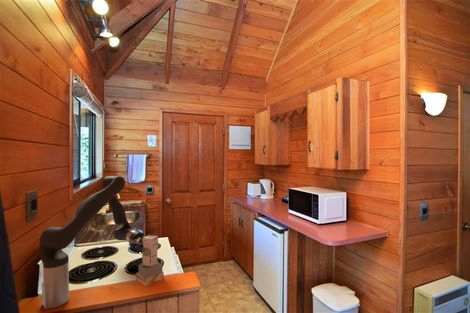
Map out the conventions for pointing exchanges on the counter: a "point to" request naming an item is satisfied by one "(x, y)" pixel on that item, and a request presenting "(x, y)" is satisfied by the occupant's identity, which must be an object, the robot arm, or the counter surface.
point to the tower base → (150, 279)
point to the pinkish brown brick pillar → (149, 251)
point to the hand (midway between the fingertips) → (150, 244)
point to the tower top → (150, 270)
